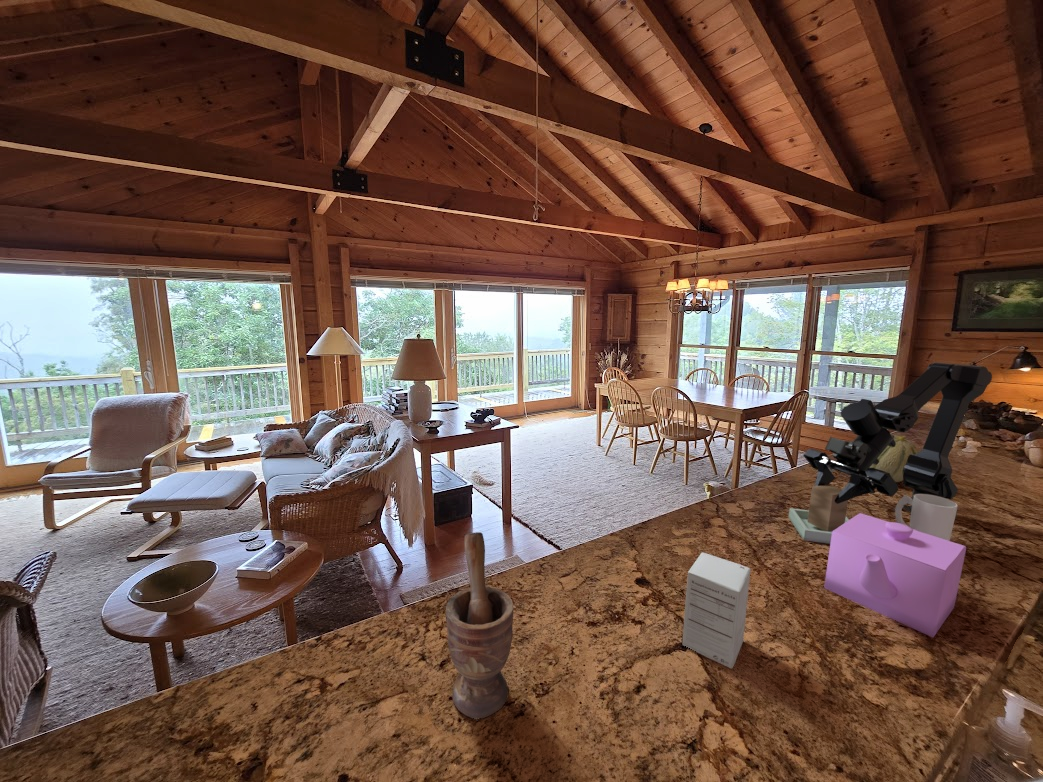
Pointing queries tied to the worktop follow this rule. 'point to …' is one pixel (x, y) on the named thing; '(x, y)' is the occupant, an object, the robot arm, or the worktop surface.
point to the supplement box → (716, 608)
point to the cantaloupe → (896, 457)
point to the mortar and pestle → (479, 637)
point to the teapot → (895, 571)
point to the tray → (809, 527)
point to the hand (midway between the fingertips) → (824, 497)
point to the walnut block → (826, 508)
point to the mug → (929, 514)
